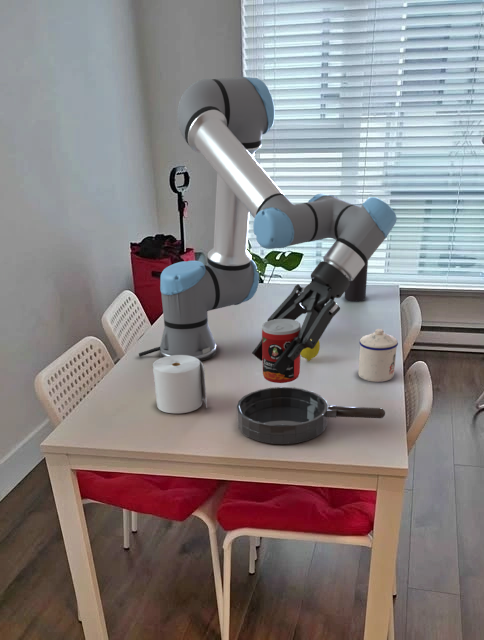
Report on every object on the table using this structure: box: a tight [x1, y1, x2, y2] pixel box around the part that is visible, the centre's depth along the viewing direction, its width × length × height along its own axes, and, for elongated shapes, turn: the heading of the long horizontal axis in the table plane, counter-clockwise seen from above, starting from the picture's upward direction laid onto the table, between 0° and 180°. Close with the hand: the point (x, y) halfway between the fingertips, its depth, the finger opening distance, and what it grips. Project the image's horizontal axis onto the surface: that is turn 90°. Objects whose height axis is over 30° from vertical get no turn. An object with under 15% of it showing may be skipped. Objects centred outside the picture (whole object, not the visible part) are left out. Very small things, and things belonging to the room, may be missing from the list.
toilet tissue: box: [152, 355, 208, 414], centre depth 153 cm, size 11×12×10 cm
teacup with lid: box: [357, 328, 399, 383], centre depth 164 cm, size 12×9×12 cm
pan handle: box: [327, 404, 386, 420], centre depth 141 cm, size 12×3×2 cm, turn 81°
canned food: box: [261, 319, 302, 384], centre depth 137 cm, size 8×8×11 cm
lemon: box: [300, 339, 321, 362], centre depth 174 cm, size 6×6×8 cm
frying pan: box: [236, 386, 329, 445], centre depth 144 cm, size 19×19×4 cm
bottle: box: [344, 260, 369, 302], centre depth 215 cm, size 7×7×20 cm
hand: (266, 363), depth 137 cm, fingers closed on canned food, 8 cm apart
